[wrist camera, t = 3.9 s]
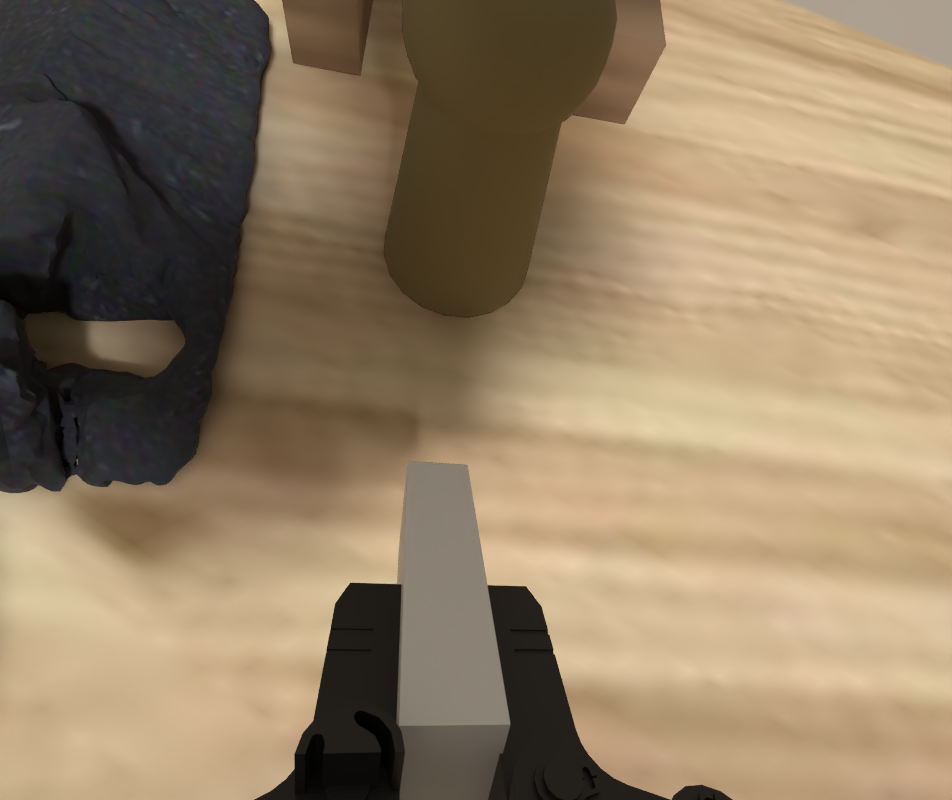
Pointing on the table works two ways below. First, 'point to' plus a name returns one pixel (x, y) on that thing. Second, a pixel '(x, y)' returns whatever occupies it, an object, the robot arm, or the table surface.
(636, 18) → the walnut pocket
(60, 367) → the dark slate chunk
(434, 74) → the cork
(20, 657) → the table surface
